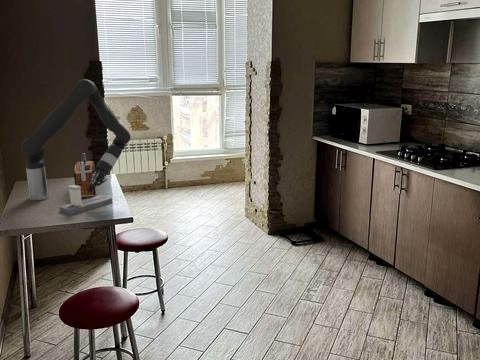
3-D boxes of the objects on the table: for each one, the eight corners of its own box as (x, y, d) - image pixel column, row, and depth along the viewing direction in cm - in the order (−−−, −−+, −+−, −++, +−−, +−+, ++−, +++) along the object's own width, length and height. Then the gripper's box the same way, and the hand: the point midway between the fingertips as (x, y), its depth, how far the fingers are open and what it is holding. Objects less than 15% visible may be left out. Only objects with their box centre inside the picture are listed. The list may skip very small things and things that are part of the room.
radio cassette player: (96, 197, 247) (92, 161, 242) (75, 199, 244) (71, 163, 239) (96, 184, 274) (93, 152, 269) (78, 186, 272) (74, 153, 267)
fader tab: (77, 206, 223) (75, 187, 221) (70, 204, 227) (68, 186, 225) (82, 204, 226) (80, 186, 223) (75, 202, 229) (73, 184, 227)
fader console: (71, 215, 219) (70, 209, 218) (59, 211, 225) (59, 206, 224) (112, 202, 237) (111, 198, 237) (100, 199, 243) (100, 195, 243)
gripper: (94, 158, 238) (76, 185, 232) (109, 160, 230) (91, 189, 224) (103, 166, 244) (86, 193, 237) (119, 169, 236) (101, 197, 229)
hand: (88, 191), depth 231 cm, fingers closed
